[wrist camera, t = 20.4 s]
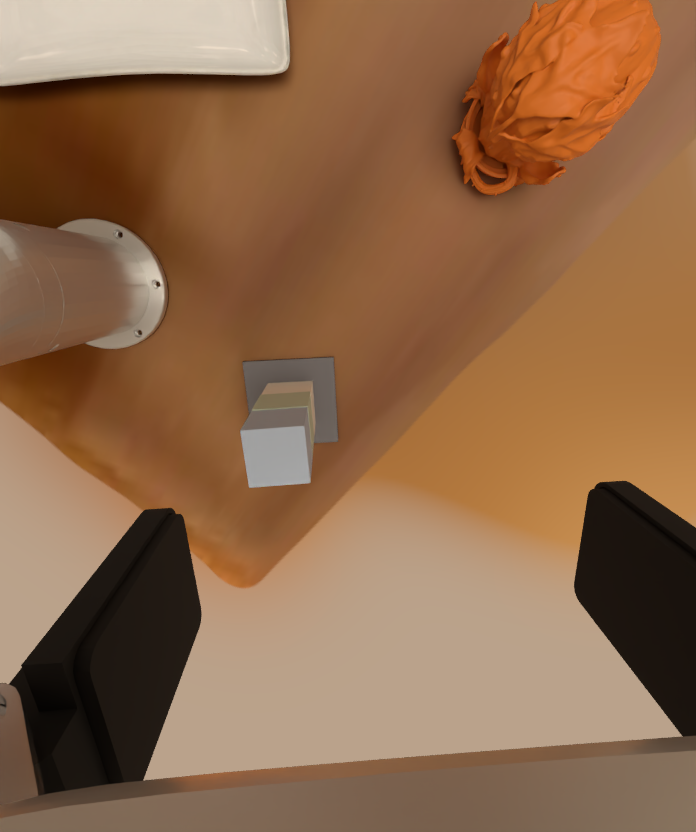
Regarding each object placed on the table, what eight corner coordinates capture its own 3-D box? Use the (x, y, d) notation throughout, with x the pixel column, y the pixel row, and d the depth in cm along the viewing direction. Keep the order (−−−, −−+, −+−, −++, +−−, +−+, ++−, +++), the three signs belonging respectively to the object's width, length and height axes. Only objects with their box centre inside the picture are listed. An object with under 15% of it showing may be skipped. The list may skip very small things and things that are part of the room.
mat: (253, 445, 50) (252, 446, 49) (243, 361, 46) (242, 362, 46) (338, 440, 50) (338, 441, 50) (333, 356, 47) (333, 357, 46)
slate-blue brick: (258, 462, 39) (249, 487, 34) (251, 411, 38) (240, 430, 33) (312, 458, 39) (310, 482, 34) (307, 406, 38) (304, 425, 33)
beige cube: (272, 425, 49) (266, 441, 44) (267, 383, 47) (261, 395, 42) (315, 422, 49) (314, 438, 44) (312, 380, 47) (310, 392, 42)
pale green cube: (266, 440, 44) (258, 460, 39) (260, 394, 42) (251, 409, 37) (314, 437, 44) (312, 457, 39) (310, 391, 42) (307, 405, 38)
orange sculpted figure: (571, 157, 42) (740, 75, 24) (475, 224, 43) (571, 190, 26) (522, 41, 38) (677, -147, 21) (420, 117, 40) (488, -2, 23)
